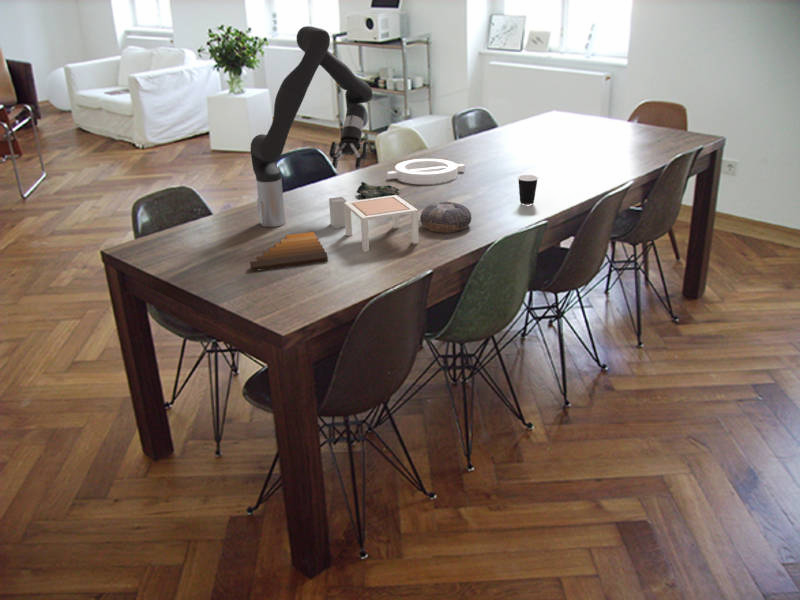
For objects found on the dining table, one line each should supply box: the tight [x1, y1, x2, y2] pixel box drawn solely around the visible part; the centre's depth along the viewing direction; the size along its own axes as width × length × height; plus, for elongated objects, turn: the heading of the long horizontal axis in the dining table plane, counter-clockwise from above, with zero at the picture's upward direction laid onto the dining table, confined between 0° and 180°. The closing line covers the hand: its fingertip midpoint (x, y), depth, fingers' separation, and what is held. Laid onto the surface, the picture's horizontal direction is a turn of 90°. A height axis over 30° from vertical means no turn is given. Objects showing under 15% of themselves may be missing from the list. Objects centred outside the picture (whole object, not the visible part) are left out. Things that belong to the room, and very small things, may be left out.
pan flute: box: [249, 231, 329, 271], centre depth 263 cm, size 25×3×25 cm
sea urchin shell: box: [419, 200, 472, 234], centre depth 284 cm, size 19×19×10 cm
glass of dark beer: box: [517, 174, 539, 205], centre depth 305 cm, size 8×8×11 cm
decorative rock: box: [356, 181, 400, 199], centre depth 325 cm, size 19×6×15 cm
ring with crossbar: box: [386, 158, 466, 185], centre depth 349 cm, size 28×28×5 cm
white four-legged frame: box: [344, 194, 419, 253], centre depth 272 cm, size 20×20×12 cm
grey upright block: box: [328, 196, 347, 229], centre depth 288 cm, size 5×5×10 cm
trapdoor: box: [353, 198, 408, 216], centre depth 270 cm, size 15×15×1 cm
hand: (345, 167), depth 292 cm, fingers open, 8 cm apart
